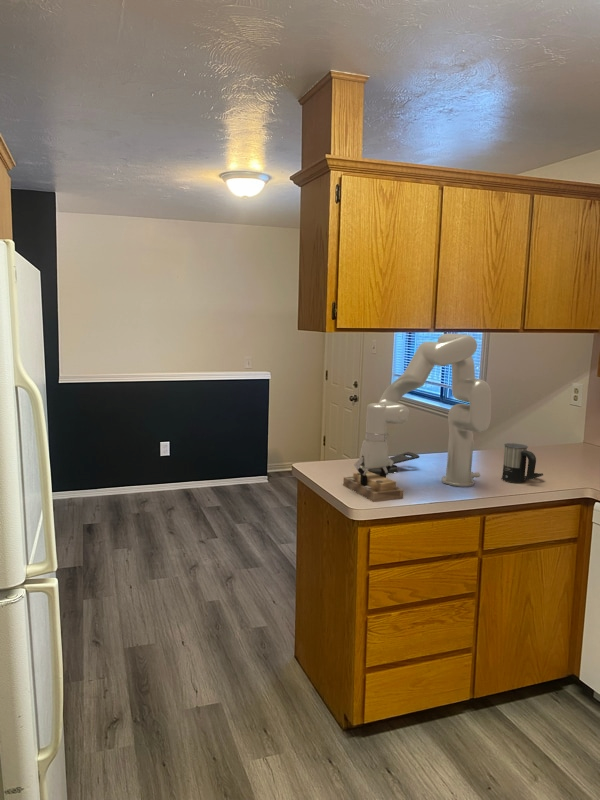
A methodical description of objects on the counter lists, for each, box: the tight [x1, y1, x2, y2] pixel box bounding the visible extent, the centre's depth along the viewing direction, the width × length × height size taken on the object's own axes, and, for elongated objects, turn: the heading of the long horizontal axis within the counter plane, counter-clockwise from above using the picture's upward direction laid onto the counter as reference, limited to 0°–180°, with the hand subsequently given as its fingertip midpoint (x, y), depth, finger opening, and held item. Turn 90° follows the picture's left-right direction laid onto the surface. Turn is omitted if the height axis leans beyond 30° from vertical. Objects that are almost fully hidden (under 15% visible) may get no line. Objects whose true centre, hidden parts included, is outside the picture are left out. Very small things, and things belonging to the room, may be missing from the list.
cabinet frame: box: [343, 476, 405, 503], centre depth 223 cm, size 22×12×4 cm, turn 25°
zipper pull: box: [368, 451, 421, 475], centre depth 254 cm, size 9×7×25 cm
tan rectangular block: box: [352, 471, 397, 492], centre depth 222 cm, size 16×7×4 cm, turn 33°
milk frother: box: [501, 442, 544, 484], centre depth 247 cm, size 14×16×15 cm
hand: (373, 483), depth 223 cm, fingers closed on tan rectangular block, 7 cm apart
